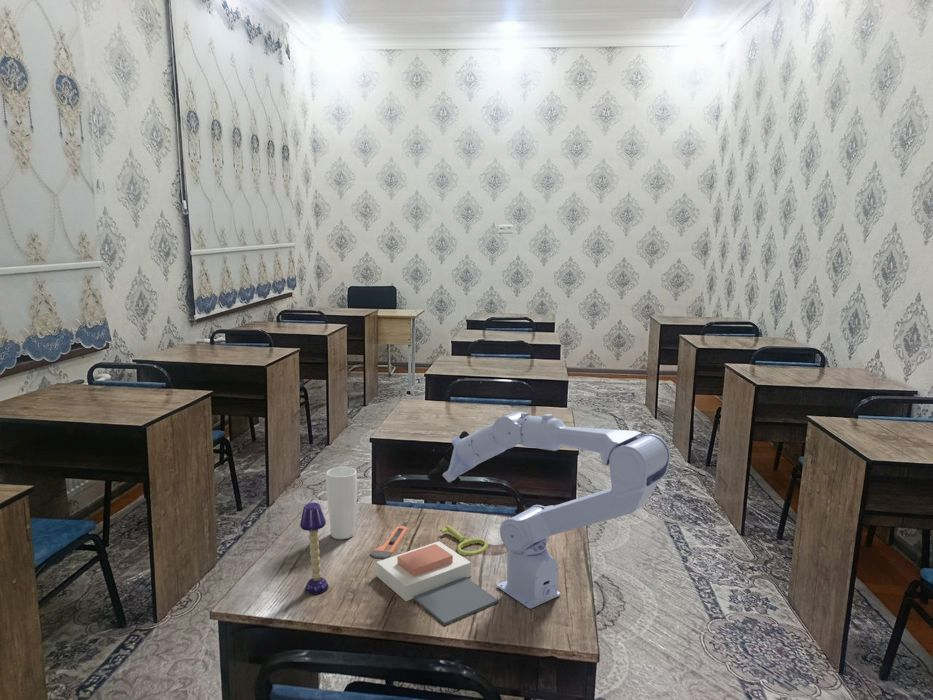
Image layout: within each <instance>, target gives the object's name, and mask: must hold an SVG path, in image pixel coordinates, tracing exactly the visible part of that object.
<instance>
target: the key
mask: <svg viewBox="0 0 933 700" xmlns="http://www.w3.org/2000/svg"><path fill="white" fill-rule="evenodd" d="M439 532H441V533H442V534H444V533H449V534H450V535H452V536H453V537H454V538H455V539H456V540H458V541H459V544H458V545H457V548H456V551H457V552H456V553H458V554H459V555H461V556H462V555H463V556H475V555H479V554H481V553H483V552H485V551H486V550H487V549H488V547H489V546H488V542H487V540H485V539H483V538H479V537H478V538H469V539H468V537H467V536H464V535H462V534H460V532H458V531H457V530H455V529H454V528H453V527H451V526H450V525H449V524H447V525H446V526H445V527H443V528H440V529H439ZM475 543H476V544H477V543H480V545H482V547H481V548H479V549H476V550H464V549H463V548H465V547H467V545H468V546H470V544H472V545H476V544H475ZM477 545H478V544H477ZM461 548H462V549H461Z"/></svg>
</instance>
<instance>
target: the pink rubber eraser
mask: <svg viewBox="0 0 933 700" xmlns="http://www.w3.org/2000/svg"><path fill="white" fill-rule="evenodd" d="M450 563H453V555H451V554H450V553H448V552H447V551H445V550H444V549H442V548H441V547H439V546H438V545H436V544H434V545H431V546H428V547H425V548H422V549H419V550H416V551H413V552H410V553H407V554H404V555H401V556H398V557H397V564H398V565H400V566H401V567H402V568H404V569H405V570H406V571H407V572H409V573H410V574H411V575H412V576H417V575H420V574H423V573H425V572H428V571H431V570H434V569H437V568H439V567H442V566H445V565H448V564H450Z"/></svg>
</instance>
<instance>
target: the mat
mask: <svg viewBox="0 0 933 700" xmlns="http://www.w3.org/2000/svg"><path fill="white" fill-rule="evenodd" d="M412 600H413V601H415V602H416V603H417V604H418V605H420V607H422V609H425V610H426V611H427V612H428V613H429V614H431V616H433V617H434V619H436V620H437V621H438V622H440V623H441V624H442V625H443V626H446V625H449V624H451V623H453V622H456V621H458V620H460V619H463V618H465V617H468V616H470V615H472V614H475V613H477V612H480V611H482V610H484V609H486V608H489V607H491V606H493V605H495V604H497V603H499V599H497V598H496V597H495V596H493V595H492V594H491V593H489V592H488V591H486V590H485V589H483V588H482V587H480V586H479V585H477V584H476V583H475V582H473V581H472V580H470V579H469V577H468V578H466V577H464V578H461V579H458V580H456V581H453V582H451V583H448V584H445V585H443V586H440V587H438V588H435V589H432V590H430V591H427V592H425V593H422V594H419V595H417V596H414V597H413V599H412Z"/></svg>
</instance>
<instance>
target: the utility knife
mask: <svg viewBox="0 0 933 700" xmlns="http://www.w3.org/2000/svg"><path fill="white" fill-rule="evenodd" d="M407 526H408V522H405V521H403V523H402V524H401V526H400V525H399V526H396V527H395V528H394V530H392V531H391V533H390V536H389V537H388V539H387V540H386V542H385V543H383V544H382V545H380V546H379V547H377V548H375V549H372V551H371V553H370V557H372V558H374V559H379V560H384V559H387V558H390V557H392V555H393V553H394V552H395V550H396V548H398V546H399V544H400V542H401V541H402V539H403V538H404V536H405V535H406V533H407V531H408V530H409V527H407ZM389 544H392V545H391V547H390V549H389V550H386V549H387V548H388V546H389Z"/></svg>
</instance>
